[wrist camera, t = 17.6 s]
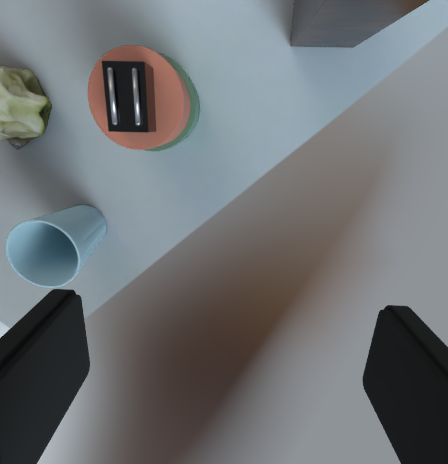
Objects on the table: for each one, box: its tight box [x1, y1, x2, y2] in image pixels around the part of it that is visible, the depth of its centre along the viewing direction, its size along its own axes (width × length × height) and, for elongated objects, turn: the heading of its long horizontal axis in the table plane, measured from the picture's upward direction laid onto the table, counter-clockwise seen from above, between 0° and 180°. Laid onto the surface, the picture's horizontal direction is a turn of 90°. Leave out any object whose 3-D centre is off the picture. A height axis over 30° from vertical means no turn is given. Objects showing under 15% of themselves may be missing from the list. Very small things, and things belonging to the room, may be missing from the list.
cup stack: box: [88, 45, 200, 151], centre depth 31 cm, size 9×9×11 cm
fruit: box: [0, 65, 52, 149], centre depth 34 cm, size 9×9×8 cm
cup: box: [6, 205, 107, 288], centre depth 37 cm, size 8×8×10 cm
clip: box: [102, 61, 156, 133], centre depth 25 cm, size 3×5×3 cm, turn 179°
